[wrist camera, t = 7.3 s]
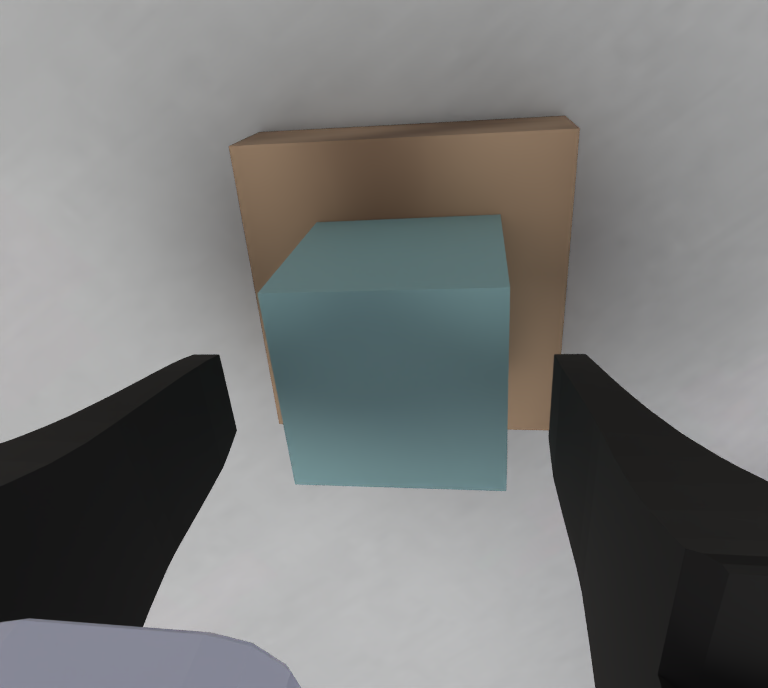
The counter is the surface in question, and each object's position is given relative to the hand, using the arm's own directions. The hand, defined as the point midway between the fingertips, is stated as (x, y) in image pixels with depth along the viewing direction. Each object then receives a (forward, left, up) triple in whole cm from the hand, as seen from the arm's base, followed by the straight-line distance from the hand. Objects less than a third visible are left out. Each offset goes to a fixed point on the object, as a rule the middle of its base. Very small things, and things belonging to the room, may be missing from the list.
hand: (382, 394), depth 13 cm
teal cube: (0, 0, -5) cm, 5 cm away
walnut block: (0, 0, -8) cm, 8 cm away
